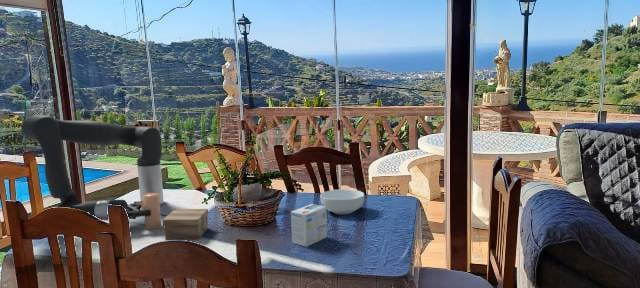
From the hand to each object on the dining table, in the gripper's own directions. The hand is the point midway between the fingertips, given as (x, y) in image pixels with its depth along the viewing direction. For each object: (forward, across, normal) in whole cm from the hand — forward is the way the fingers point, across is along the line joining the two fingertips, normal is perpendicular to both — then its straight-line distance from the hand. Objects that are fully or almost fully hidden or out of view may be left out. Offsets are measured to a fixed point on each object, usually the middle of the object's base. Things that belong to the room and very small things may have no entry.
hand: (155, 209), depth 175 cm
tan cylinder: (-1, 0, +6) cm, 7 cm away
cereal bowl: (+68, +15, +7) cm, 70 cm away
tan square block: (+14, -8, +6) cm, 17 cm away
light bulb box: (+57, -16, +7) cm, 59 cm away
